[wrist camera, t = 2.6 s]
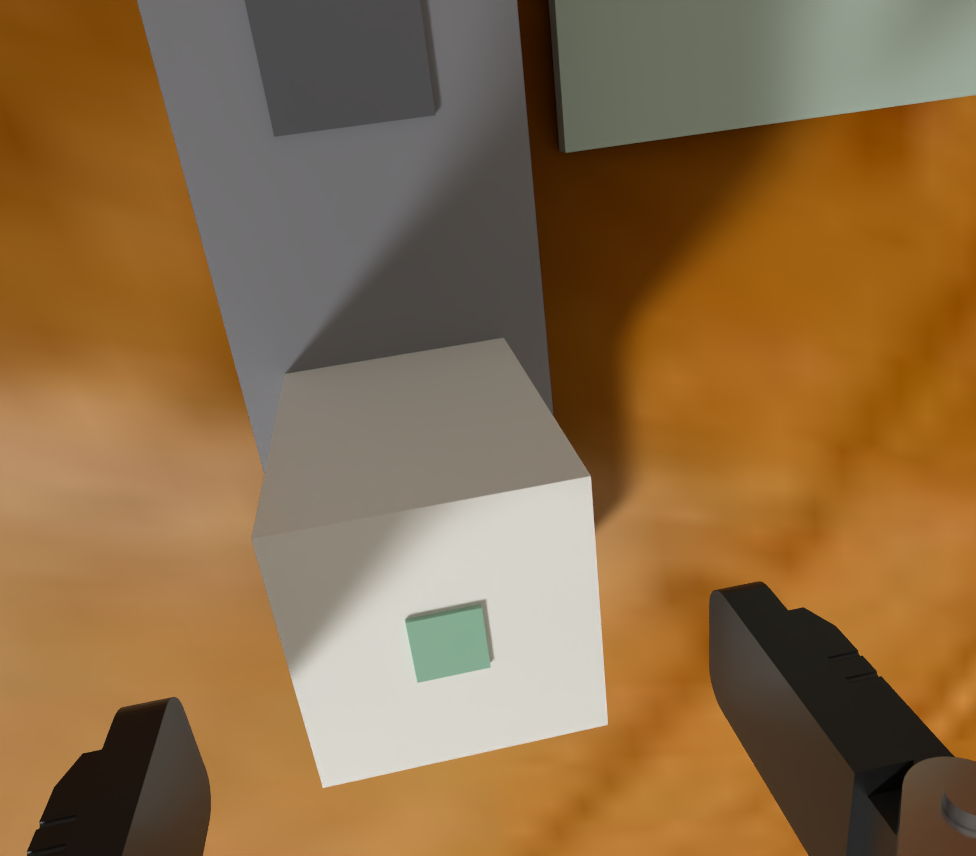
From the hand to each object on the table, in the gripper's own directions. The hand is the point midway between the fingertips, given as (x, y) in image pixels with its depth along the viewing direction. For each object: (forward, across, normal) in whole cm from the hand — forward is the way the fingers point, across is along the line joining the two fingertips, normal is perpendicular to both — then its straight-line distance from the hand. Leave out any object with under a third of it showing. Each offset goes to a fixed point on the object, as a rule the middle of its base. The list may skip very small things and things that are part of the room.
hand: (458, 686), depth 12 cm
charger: (+10, 0, 0) cm, 10 cm away
